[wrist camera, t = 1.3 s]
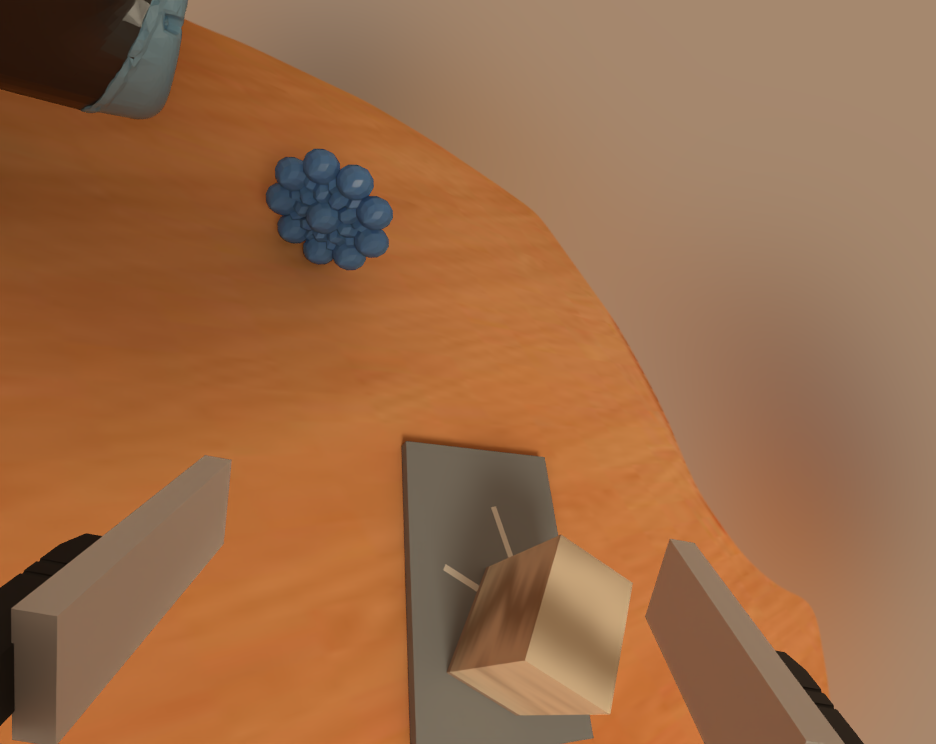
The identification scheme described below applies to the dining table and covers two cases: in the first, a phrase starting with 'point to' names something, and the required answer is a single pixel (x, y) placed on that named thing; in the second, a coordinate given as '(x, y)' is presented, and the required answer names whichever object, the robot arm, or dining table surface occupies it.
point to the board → (467, 583)
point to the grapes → (329, 209)
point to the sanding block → (545, 632)
